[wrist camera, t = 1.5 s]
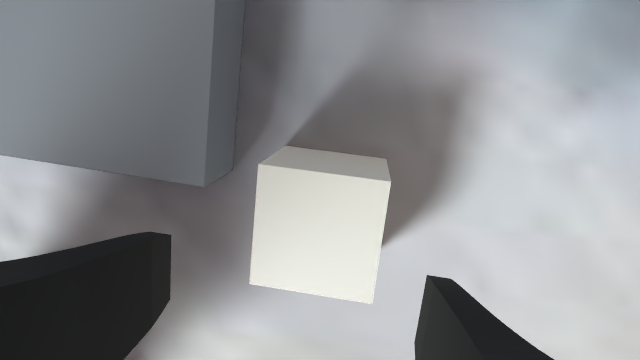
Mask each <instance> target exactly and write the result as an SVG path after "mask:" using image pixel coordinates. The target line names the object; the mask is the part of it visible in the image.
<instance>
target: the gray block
mask: <svg viewBox="0 0 640 360" xmlns="http://www.w3.org/2000/svg"><path fill="white" fill-rule="evenodd" d="M245 1H246V0H0V155H3V156H10V157H16V158H22V159H29V160H35V161H41V162H48V163H54V164H60V165H67V166H73V167H79V168H86V169H92V170H98V171H105V172H111V173H117V174H124V175H130V176H136V177H143V178H149V179H155V180H162V181H168V182H174V183H181V184H187V185H194V186H200V187H205V186H207V185H208V184H210V183H212V182H213V181H215V180H217V179H218V178H220V177H222V176H224V175H225V174H227V173H229V172H230V171H232V170H233V159H234V146H235V133H236V119H237V106H238V93H239V80H240V67H241V54H242V41H243V28H244V15H245Z"/></svg>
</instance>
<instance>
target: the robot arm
mask: <svg viewBox="0 0 640 360" xmlns="http://www.w3.org/2000/svg"><path fill="white" fill-rule="evenodd" d="M170 271H171V235H168V234H161V233H155V232H144V233H137V234H132V235H127V236H122V237H118V238H113V239H109V240H105V241H101V242H97V243H93V244H88V245H84V246H80V247H76V248H71V249H66V250H62V251H57V252H52V253H48V254H43V255H39V256H33V257H28V258H22V259H16V260H10V261H3V262H0V360H123V359H124V358H125V357H126V356H127V355H128V354H129V353H130V352H131V351H132V349H133V348H134V347H135V346H136V345H137V344H138V343H139V341H140V340H141V339H142V338H143V337H144V336H145V335H146V333H147V332H148V331H149V330H150V329H151V328H152V326H153V325H154V323H155V322H156V320H157V319H158V317H159V316H160V315H161V313H162V311H163V310H164V308H165V307H166V305H167V303H168V302H169V300H170ZM415 360H554V359H552V358H551V357H549V356H548V355H546V354H545V353H543V352H542V351H540V350H538V349H537V348H536V347H534V346H533V345H531V344H530V343H529V342H527V341H526V340H524V339H523V338H522V337H520V336H519V335H518V334H517V333H515V332H514V331H513V330H511V329H510V328H509V327H507V326H506V325H505V324H504V323H502V322H501V321H500V320H499V319H497V318H496V317H495V316H494V315H493V314H491V313H490V312H489V311H488V310H487V309H486V308H484V307H483V306H482V305H481V304H480V303H479V302H478V301H477V300H475V299H474V298H473V297H472V296H471V295H470V294H469V293H467V292H466V291H465V290H464V289H463V288H462V287H461V286H459V285H458V284H457V283H456V282H454V281H453V280H452V279H448V278H442V277H436V276H429V275H427V278H426V283H425V289H424V294H423V300H422V305H421V310H420V316H419V321H418V327H417V332H416V338H415Z"/></svg>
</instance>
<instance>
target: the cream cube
mask: <svg viewBox="0 0 640 360" xmlns="http://www.w3.org/2000/svg"><path fill="white" fill-rule="evenodd" d="M390 186H391V179H390V174H389V169H388V164H387V159H385V158H377V157H369V156H361V155H354V154H346V153H338V152H330V151H322V150H315V149H307V148H299V147H291V146H284V147H282V148H281V149H280V150H278V151H277V152H275V153H274V154H272V155H271V156H269V157H268V158H266V159H265V160H263V161H262V162H260V163H259V164H258V174H257V188H256V201H255V215H254V228H253V241H252V255H251V268H250V282H249V284H252V285H258V286H264V287H271V288H277V289H283V290H289V291H295V292H301V293H307V294H314V295H320V296H326V297H332V298H338V299H344V300H351V301H357V302H363V303H369V304H372V302H373V296H374V290H375V283H376V277H377V270H378V264H379V257H380V251H381V244H382V238H383V231H384V225H385V218H386V212H387V205H388V199H389V192H390Z"/></svg>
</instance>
